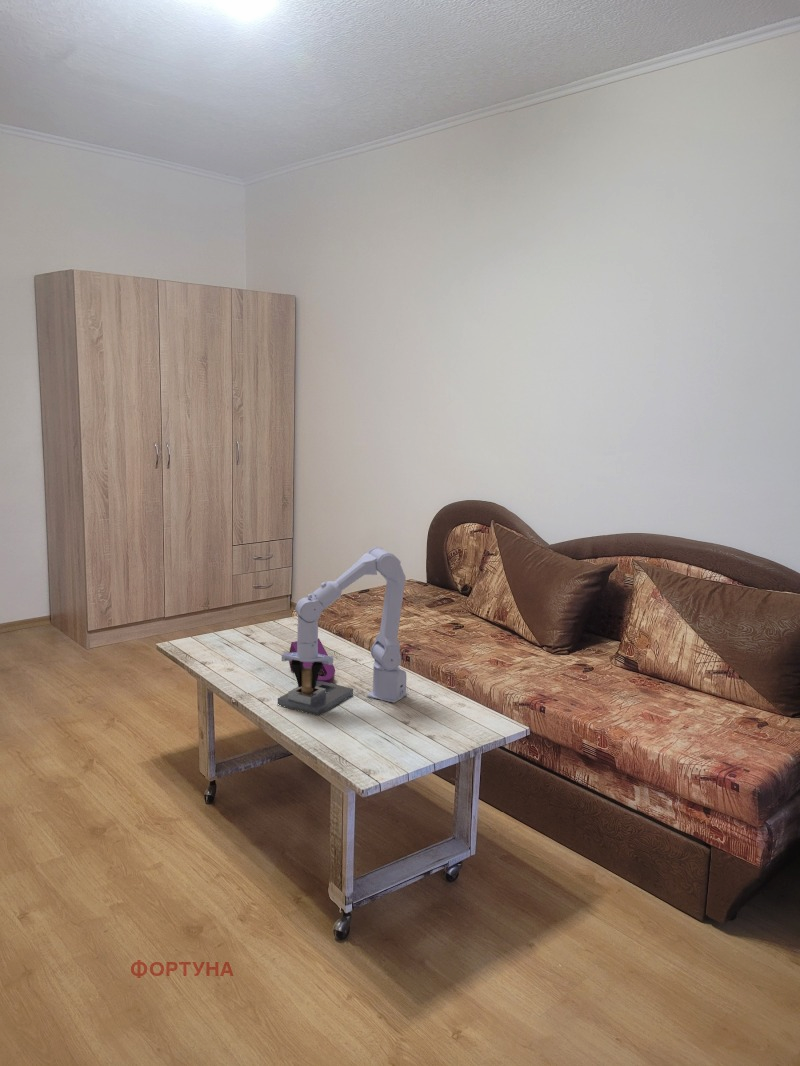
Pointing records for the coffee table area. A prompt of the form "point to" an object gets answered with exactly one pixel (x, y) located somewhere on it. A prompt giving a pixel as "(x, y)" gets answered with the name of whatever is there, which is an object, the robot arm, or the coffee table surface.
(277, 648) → the coffee table surface
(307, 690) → the pin
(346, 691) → the mount plate
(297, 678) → the robot arm
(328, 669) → the mounting bracket
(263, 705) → the coffee table surface
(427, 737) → the coffee table surface
